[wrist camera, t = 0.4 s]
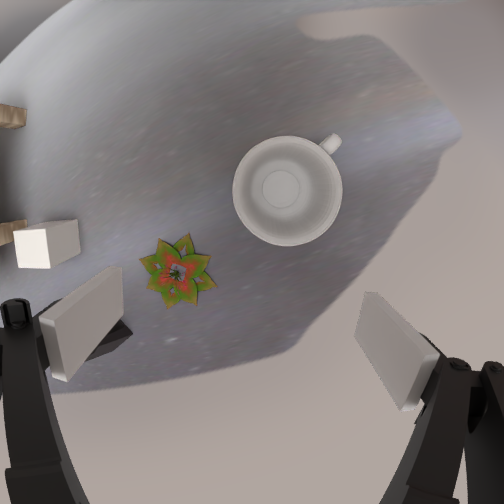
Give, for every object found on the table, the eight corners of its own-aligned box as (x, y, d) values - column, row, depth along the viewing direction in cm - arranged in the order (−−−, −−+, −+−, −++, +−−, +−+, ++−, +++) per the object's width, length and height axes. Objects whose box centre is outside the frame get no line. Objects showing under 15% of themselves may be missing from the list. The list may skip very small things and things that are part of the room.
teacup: (351, 173, 41) (379, 172, 31) (281, 248, 43) (291, 268, 33) (290, 114, 39) (302, 96, 29) (218, 191, 41) (208, 194, 31)
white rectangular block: (46, 221, 42) (13, 231, 33) (77, 219, 42) (45, 228, 33) (50, 253, 43) (18, 267, 34) (81, 252, 43) (50, 268, 34)
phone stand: (133, 333, 46) (105, 373, 34) (113, 349, 47) (85, 389, 35) (97, 293, 44) (60, 324, 33) (79, 312, 45) (43, 344, 34)
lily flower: (127, 253, 44) (116, 261, 39) (194, 217, 42) (188, 222, 38) (165, 318, 46) (157, 332, 42) (231, 289, 45) (229, 301, 41)
